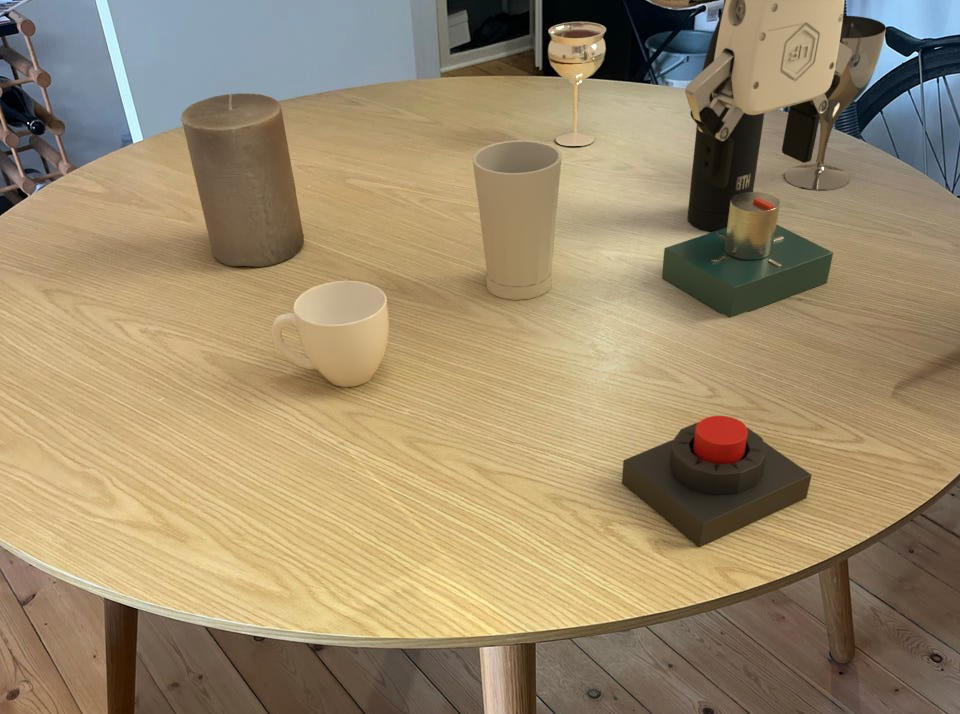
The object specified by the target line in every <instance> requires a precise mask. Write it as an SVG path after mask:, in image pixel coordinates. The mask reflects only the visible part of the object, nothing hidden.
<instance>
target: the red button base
mask: <svg viewBox="0 0 960 714" xmlns="http://www.w3.org/2000/svg"><path fill="white" fill-rule="evenodd" d="M699 422H700V421H698V422H695V423H693V424H690V425H688V426H685V427H683V428H680V430H679V431H678V432H677V434H676V436H675V437H674V438H673V439H671V440H669V441H666V442H664V443H662V444H659V445H657V446H655V447H652V448H650V449H647V450H644V451H642V452H640V453H637V454H635V455H632V456H630V457H627V458H625V459H623V461H622V474H621V475H622V476H621V484H622V485H623V486H624V487H626V489H628V490H629V491H631V493H632V494H634V495H635V496H636V497H638V499H640V501H642V502H643V503H644V504H646V505H647V506H648V507H649V508H651V509H652V510H653V511H654V512H656V513H657V515H659V516H660V517H661V518H662V519H664V520H665V521H666V522H668V523H669V525H671V526H672V527H673V528H674V529H676V530H677V531H678V532H679V533H681V534H682V535H683V536H684V537H686V539H688V540H689V541H690V542H691V543H693V544H694V545H695V546H696V547H697V548H702V547H704V546H706V545H709V544H711V543H713V542H714V541H717V540H719V539H721V538H723V537H725V536H727V535H730V534H732V533H734V532H736V531H738V530H741V529H743V528H746V527H748V526H749V525H751V524H753V523H756V522H758V521H760V520H762V519H765V518H767V517H768V516H771V515H773V514H775V513H778V512H779V511H782V510H784V509H786V508H789V507H791V506H793V505H795V504H797V503H799V502H801V501H803V500H806V499H807V497H808V492H809V488H810V485H811V481H812V480H811V479H812V475H813V474H812V473H810V472H809V471H807V470H806V469H804V468H803V467H801V466H800V465H798V464H797V463H796V462H794V461H793V460H791V459H790V458H788V457H787V456H786V455H784V454H782V453H781V452H780V451H778V450H777V449H775V448H774V447H773V446H771V445H770V444H768V443H767V442H765V441H764V439H763V437H762V436H761V435H759V434H757V432H754V431H753V430H752V429H750V428H749V427H747V430H748V435H747V441H746V447H745V453H744V455H743V457H742V458H741V459H740V460H739V461H737V462H735V463H732V464H714V463H711V462H707V461H703V460H701V459H699V458H698V457H697V456H696V455H695V453H694V450H693V446H694V438H695V430H696V426H697V424H698V423H699Z"/></svg>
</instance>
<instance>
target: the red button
mask: <svg viewBox="0 0 960 714" xmlns="http://www.w3.org/2000/svg"><path fill="white" fill-rule="evenodd" d="M698 422H699V423H698V424H697V426H696V430H695V438H694V446H693V450H694V453H695V455H696V456H697V457H698V458H699V459H701V460H703V461H707V462H711V463H714V464H732V463H735V462H737V461H739V460H740V459H741V458H742V457H743V455H744V453H745V447H746V441H747V435H748V430H747V428H748V426H746V424H745V423H744V422H742V421H741V420H739V419H737V418H735V417H731V416H726V415H712V416H709V417H708V416H707V417H705V418H703V419H701V420H700V421H698Z"/></svg>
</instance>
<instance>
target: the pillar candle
mask: <svg viewBox="0 0 960 714" xmlns="http://www.w3.org/2000/svg"><path fill="white" fill-rule="evenodd" d="M180 121H181V123H182V125H183V126H182V127H183V131H184V135H185V138H186V143H187V149H188V152H189V157H190V162H191V166H192V169H193V175H194V179H195V183H196V187H197V192H198V196H199V201H200V205H201V209H202V213H203V217H204V222H205V226H206V231H207V235H208V239H209V243H210V248H211V252H212V255H213V257H214V259H216V260H217V262H219V263H222V264H223V265H225V266H230V267H255V268H258V267H260V268H261V267H267V266H269V267H270V266H272V265H276V264H279V263H282V262H285V261H287V260H289V259H291V258H293V257H294V256H295V255H297V254H298V253H299V252H300V251H301V249H302V248H303V245H304V242H305V240H304V239H305V238H304V237H305V235H304V232H303V226H302V220H301V213H300V208H299V202H298V196H297V189H296V184H295V178H294V173H293V167H292V162H291V155H290V150H289V144H288V139H287V133H286V128H285V121H284V116H283V111H282V105H281V104H280V102H279V101H278V100H277V99H276V98H274V97H272V96H269V95H264V94H261V93H260V94H259V93H258V94H257V93H239V92H238V93H229V94H228V93H227V94H222V95H215V96H212V97H207V98H205V99H201V100H199V101H196V102H194V103H192V104H190V105H189V106H188V107H186V108H185V109H184V110H183V111H182V113H181V117H180Z"/></svg>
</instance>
